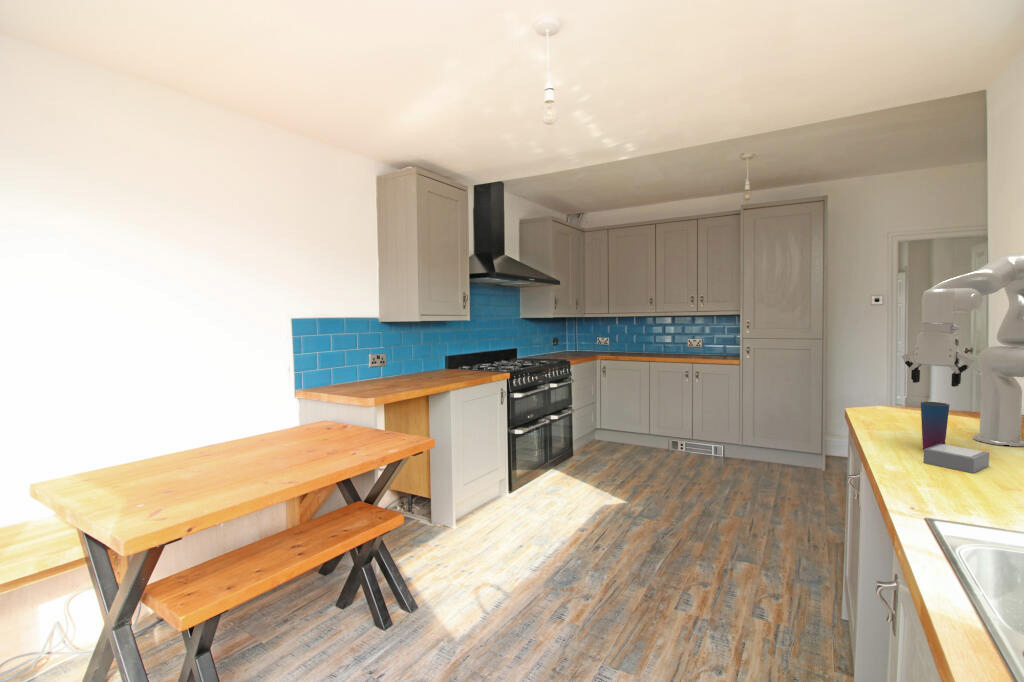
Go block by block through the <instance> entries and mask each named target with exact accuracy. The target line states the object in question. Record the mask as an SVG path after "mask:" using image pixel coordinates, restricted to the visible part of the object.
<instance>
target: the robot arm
mask: <svg viewBox="0 0 1024 682" xmlns="http://www.w3.org/2000/svg"><path fill="white" fill-rule="evenodd" d="M1003 288H1004V291H1005V294H1006V296H1007V299H1008V309H1007V310H1006V313H1005V315H1004V317H1003V319H1002V321H1001V324H1000V326H999V328H998V330H997V334H996V340H997V342H999V344H1001V345H1000V346H999V345H997V346H989V347H986V348H983V350H981V351H980V353H979V354H978V368H979V372H980V377H981V378H980V379H981V389H980V390H981V391H980V411H979V412H980V413H979V415H980V416H979V433H975V434H973V435H972V439H974V440H976V441H977V442H980V441H981V443H985V444H990V445H996V446H997V445H998V446H1003V445H1009V446H1008V447H1024V439H1023V438H1021V430H1022V429H1021V428H1022V408H1023V407H1022V406H1023V389H1022V386H1021V384H1020V383H1019V382H1018V381H1017V379H1016V378H1024V252H1017V253H1016V252H1015V253H1009V254H1004V255H1000V256H998V257H996V258H994V259H993V260H992V261H990V262H988V263H986V264H984V265H983V266H982V267H979V268H978V269H976V270H975V271H972V272H968V273H964V274H961V275H958V276H956V277H952V278H949V279H945V280H944V281H942V282H939V283H937V284H936V285H934V286H932V287H930V288H929V289H927V290H924V291H923V294H922V298H921V305H922V306H921V332H919V333H918V335H917V339H916V341H915V347H914V351H911V352H908V353H906V354H903V355H902V356H901V359H902V360H903V362H904V364H905V365H906V366H907V367H908V369H910V370H911V374H910V375H911V377H910V379H911V380H912V383H914V384H916V383H917V384H918V383H920V381H921V370H920V369H919V368H920V367H922V366H932V367H933V366H934V367H936V366H937V367H949V368H950V370H951V371H953V373H952V374H951V384H950V385H951V387H953V388H954V387H959V385H960V384H961V381H962V373H963V372H965V371H966V370H968V369H969V368H970V366H971V365H972V364H973V363H974V361H975V360H974V359H973V358H971V357H969V356H967V355H965V354H963V353H961V351H960V341H959V336H958V333H954V332H955V331H959V330H960V329H961V325H956V323H955V314H956V313H959V314H961V313H971V312H974V311H976V310H978V309H979V308H980V307H981V306H982V304H983V296H987V295H992V294H994V293H997V292H999V291H1001V289H1003ZM912 357H913V358H914V360H913V361H914V362H913V361H912V360H911V359H910V358H912ZM961 360H962V361H963V362H964V363H963V365H960V362H961ZM959 365H960V366H959Z"/></svg>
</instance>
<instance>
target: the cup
mask: <svg viewBox="0 0 1024 682" xmlns="http://www.w3.org/2000/svg"><path fill="white" fill-rule="evenodd" d="M949 411H950V404H949V403H946V402H937V401H920V416H921V439H922V450H923V451H924V449H926V448H929V447H932V446H935V445H937V444H946V439H947V438H946V436H947V429H948V423H949V422H948V421H949V415H950V414H949Z"/></svg>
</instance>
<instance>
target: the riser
mask: <svg viewBox="0 0 1024 682" xmlns="http://www.w3.org/2000/svg"><path fill="white" fill-rule="evenodd" d="M922 462H923V464H927V465H931V466H935V467H942V468H947V469H951V470H955V471H961V472H965V473H970V474H975V473H977V472H979V471H982V470H984V469H986V468H988V467H989V466H990V452H989V451H984V450H983V451H982V450H979V449H973V448H968V447H961V446H956V445H950V444H946V443H945V444H937V445H935V446H932V447H929V448H926V449H924V450H923V461H922Z"/></svg>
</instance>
